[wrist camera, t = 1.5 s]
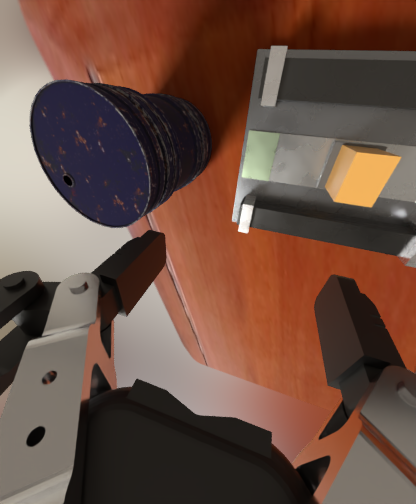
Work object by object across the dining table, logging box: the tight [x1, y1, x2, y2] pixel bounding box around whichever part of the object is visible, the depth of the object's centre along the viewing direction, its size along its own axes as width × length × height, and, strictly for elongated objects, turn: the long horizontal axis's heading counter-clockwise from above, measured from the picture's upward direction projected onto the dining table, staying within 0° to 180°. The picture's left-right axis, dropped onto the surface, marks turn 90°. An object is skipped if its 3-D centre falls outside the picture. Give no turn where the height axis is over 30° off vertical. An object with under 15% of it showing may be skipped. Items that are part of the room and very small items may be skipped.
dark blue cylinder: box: [30, 80, 212, 228], centre depth 20 cm, size 10×10×15 cm
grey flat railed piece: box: [232, 46, 416, 268], centre depth 20 cm, size 22×17×5 cm
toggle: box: [317, 141, 401, 208], centre depth 18 cm, size 4×4×5 cm
